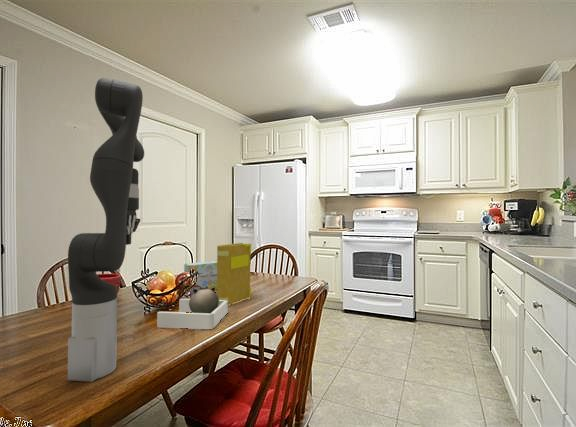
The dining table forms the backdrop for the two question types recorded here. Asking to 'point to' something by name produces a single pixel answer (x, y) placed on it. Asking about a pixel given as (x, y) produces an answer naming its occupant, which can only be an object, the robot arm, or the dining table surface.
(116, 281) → the plant pot
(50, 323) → the dining table surface
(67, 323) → the dining table surface
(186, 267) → the snack box
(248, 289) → the book
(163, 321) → the box
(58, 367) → the dining table surface
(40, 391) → the dining table surface
